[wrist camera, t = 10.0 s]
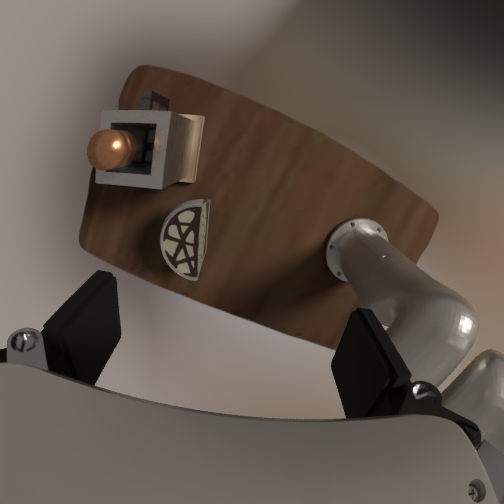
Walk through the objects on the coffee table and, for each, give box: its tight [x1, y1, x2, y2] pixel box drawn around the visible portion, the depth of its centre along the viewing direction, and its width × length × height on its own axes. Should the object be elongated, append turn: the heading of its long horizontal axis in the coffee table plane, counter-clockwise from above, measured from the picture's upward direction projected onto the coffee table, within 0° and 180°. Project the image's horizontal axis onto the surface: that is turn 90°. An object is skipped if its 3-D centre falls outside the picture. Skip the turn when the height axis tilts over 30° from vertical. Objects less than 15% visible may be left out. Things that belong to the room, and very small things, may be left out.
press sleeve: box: [95, 91, 195, 189], centre depth 35 cm, size 9×12×14 cm
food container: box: [160, 199, 210, 281], centre depth 44 cm, size 12×6×10 cm, turn 173°
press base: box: [146, 114, 205, 183], centre depth 43 cm, size 11×11×2 cm
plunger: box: [87, 129, 156, 171], centre depth 32 cm, size 5×5×20 cm
